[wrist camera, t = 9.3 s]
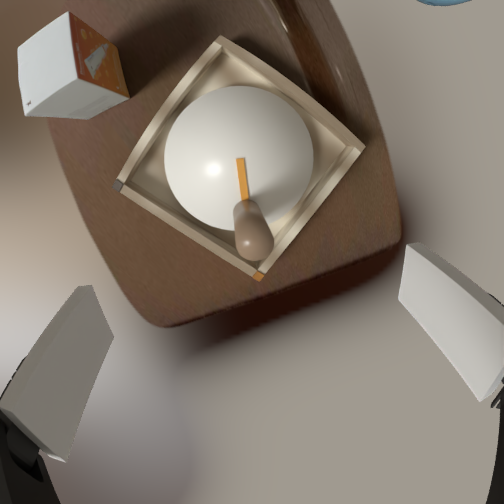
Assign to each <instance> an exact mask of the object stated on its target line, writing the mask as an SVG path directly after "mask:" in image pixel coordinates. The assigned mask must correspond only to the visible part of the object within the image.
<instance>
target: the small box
mask: <svg viewBox="0 0 504 504" xmlns="http://www.w3.org/2000/svg"><path fill="white" fill-rule="evenodd" d="M18 72H19V85H20V91H21V96H22V103H23V108H24V114H25V116H44V117H62V118H76V119H87V120H88V119H90V118H92V117H94V116H96V115H98V114H100V113H101V112H103V111H105V110H107V109H109V108H111V107H113V106H115V105H117V104H119V103H121V102H124V101H126V100H128V99H130V96H129V93H128V90H127V86H126V83H125V79H124V75H123V71H122V67H121V63H120V58H119V54H118V49H117V47H116V46H115V45H113V44H112V43H111V42H109V41H108V40H107V39H106V38H104V37H103V36H102V35H100V34H99V33H98V32H96V31H95V30H94V29H92V28H91V27H90V26H88V25H87V24H86V23H84V22H83V21H82V20H80V19H79V18H78V17H76V16H75V15H73V14H72V13H71V12H69V11H68V12H66V13H65V14H63V15H61V16H60V17H58V18H57V19H55V20H54V21H53V22H51V23H50V24H48V25H47V26H45V27H44V28H43V29H41V30H40V31H39V32H37V33H36V34H35V35H33V36H32V37H31V38H29V39H28V40H27V41H26V42H24V44H22V45H21V46H19V47H18Z"/></svg>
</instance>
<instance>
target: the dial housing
mask: <svg viewBox="0 0 504 504" xmlns="http://www.w3.org/2000/svg"><path fill="white" fill-rule="evenodd" d="M230 86H250V87H255V88H260V89H263V90H266V91H268V92H271V93H273V94H275V95H277V96H279V97H280V98H281V99H283V100H284V101H286V102H287V103H288V104H289V105H290V106H291V107H293V108H294V109H295V111H296V112H297V113H298V114H299V115H300V117H301V118H302V120H303V122H304V123H305V125H306V127H307V129H308V132H309V134H310V138H311V141H312V146H313V170H312V174H311V178H310V181H309V183H308V186H307V188H306V190H305V192H304V194H303V196H302V197H301V198H300V200H299V201H298V203H297V204H296V205H295V206H294V207H293V208H292V209H291V210H290V211H289V212H288V213H286V214H285V215H284V216H283V217H281V218H280V219H278V220H276V221H275V222H273V223H271V224H268V226H269V228H270V230H271V232H272V235H273V237H274V247H273V250H272V252H271V253H270V254H269V255H268V256H267V257H266V258H264V259H262V260H258V261H250V260H247V259H245V258H243V257H242V256H241V255H240V254H239V253H238V251H237V248H236V241H235V231H232V230H225V229H220V228H216V227H213V226H210V225H208V224H206V223H203V222H202V221H200V220H198V219H197V218H195V217H194V216H193V215H191V214H190V213H189V212H188V211H187V210H186V209H185V208H184V207H183V206H182V205H181V204H180V203H179V201H178V200H177V199H176V197H175V196H174V194H173V192H172V190H171V188H170V186H169V183H168V180H167V176H166V172H165V164H164V153H165V146H166V141H167V138H168V135H169V132H170V130H171V128H172V126H173V124H174V122H175V121H176V119H177V118H178V116H179V115H180V114H181V113H182V112H183V110H184V109H185V108H186V107H187V106H188V105H190V104H191V103H192V102H193V101H195V100H196V99H198V98H199V97H201V96H202V95H204V94H206V93H208V92H211V91H214V90H217V89H220V88H224V87H230ZM365 147H366V146H365V145H364V144H363V143H362V142H361V141H360V140H359V139H358V138H357V137H356V136H355V135H354V134H353V133H351V132H350V131H349V130H348V129H347V128H346V127H345V126H344V125H343V124H342V123H341V122H340V121H339V120H337V119H336V118H335V117H334V116H333V115H332V114H331V113H330V112H328V111H327V110H326V109H325V108H324V107H323V106H321V105H320V104H319V103H318V102H317V101H315V100H314V99H313V98H312V97H310V96H309V95H308V94H307V93H305V92H304V91H303V90H302V89H300V88H299V87H298V86H297V85H295V84H294V83H293V82H291V81H290V80H289V79H287V78H286V77H284V76H283V75H282V74H280V73H279V72H278V71H276V70H275V69H273V68H272V67H270V66H269V65H268V64H266V63H265V62H263V61H262V60H260V59H259V58H257V57H256V56H254V55H252V54H251V53H249V52H248V51H246V50H245V49H243V48H241V47H240V46H238V45H236V44H235V43H233V42H231V41H230V40H228V39H226V38H224V37H223V36H221V35H220V36H219V37H218V38H217V39H216V40H215V41H214V42H213V43H212V44H211V46H210V47H209V48H208V49H207V50H206V51H205V52H204V53H203V55H202V56H201V57H200V58H199V59H198V60H197V62H196V63H195V64H194V65H193V66H192V67H191V69H190V70H189V71H188V72H187V74H186V75H185V76H184V77H183V79H182V80H181V81H180V82H179V84H178V85H177V86H176V88H175V89H174V90H173V92H172V93H171V94H170V96H169V97H168V98H167V100H166V101H165V103H164V104H163V105H162V107H161V108H160V110H159V111H158V112H157V114H156V115H155V117H154V118H153V120H152V121H151V123H150V124H149V126H148V127H147V129H146V130H145V132H144V134H143V135H142V137H141V138H140V140H139V141H138V143H137V145H136V146H135V148H134V150H133V151H132V153H131V155H130V156H129V158H128V160H127V162H126V163H125V165H124V167H123V169H122V170H121V172H120V174H119V176H118V178H117V179H116V180H115V182H114V184H113V186H112V188H113V189H115V190H116V191H118V192H121V193H122V194H124V195H125V196H127V197H128V198H130V199H131V200H133V201H134V202H136V203H137V204H139V205H140V206H142V207H143V208H145V209H146V210H148V211H149V212H151V213H153V214H154V215H156V216H157V217H159V218H160V219H162V220H163V221H165V222H166V223H168V224H169V225H171V226H173V227H174V228H176V229H177V230H179V231H180V232H182V233H183V234H185V235H187V236H188V237H190V238H191V239H193V240H194V241H196V242H198V243H199V244H201V245H202V246H204V247H205V248H207V249H209V250H210V251H212V252H213V253H215V254H216V255H218V256H220V257H221V258H223V259H224V260H226V261H228V262H229V263H231V264H232V265H234V266H236V267H237V268H239V269H240V270H242V271H244V272H245V273H247V274H249V275H250V276H252V278H254V279H255V280H257V281H260V280H261V279H262V278H263V277H264V274H265V273H266V272H267V271H268V269H269V268H270V267H271V266H272V265H273V263H274V262H275V261H276V260H277V258H278V257H279V256H280V255H281V254H282V252H283V251H284V250H285V249H286V247H287V246H288V245H289V244H290V242H291V241H292V240H293V239H294V238H295V236H296V235H297V234H298V233H299V231H300V230H301V229H302V228H303V226H304V225H305V224H306V223H307V221H308V220H309V219H310V218H311V216H312V215H313V214H314V213H315V211H316V210H317V209H318V207H319V206H320V205H321V204H322V202H323V201H324V200H325V199H326V197H327V196H328V195H329V194H330V192H331V191H332V190H333V188H334V187H335V186H336V185H337V183H338V182H339V181H340V179H341V178H342V177H343V176H344V174H345V173H346V172H347V170H348V169H349V168H350V166H351V165H352V164H353V163H354V161H355V160H356V159H357V157H358V156H359V155H360V153H361V152H362V151H363V150H364V148H365Z"/></svg>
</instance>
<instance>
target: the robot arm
mask: <svg viewBox="0 0 504 504" xmlns="http://www.w3.org/2000/svg"><path fill="white" fill-rule="evenodd" d="M418 1H419V2H422V3H424V4H427V5H433V6H450V5H456V4H460V3H464V2H467V1H470V0H418ZM398 300H399V301H400V302H401V303H402V304H403V305H404V306H405V308H406V309H407V310H408V311H409V312H410V313H411V315H412V316H413V317H414V318H415V319H416V320H417V322H418V323H419V324H420V325H421V326H422V327H423V329H424V330H425V331H426V332H427V333H428V334H429V336H430V337H431V338H432V340H433V341H434V342H435V343H436V345H437V346H438V347H439V348H440V349H441V351H442V352H443V353H444V354H445V356H446V357H447V358H448V360H449V361H450V362H451V364H452V365H453V366H454V368H455V369H456V370H457V371H458V373H459V374H460V375H461V377H462V378H463V380H464V381H465V382H466V384H467V385H468V386H469V388H470V389H471V390H472V392H473V393H474V395H475V396H476V398H477V399H478V401H479V402H481V401H482V400H484V399H485V398H487V397H488V396H490V395H491V394H492V393H493V392H494V391H495V389H496V388H497V386H498V385H499V383H500V382H501V381H502V382H503V384H504V305H503V304H502V305H501V302H499V301H498V300H497V299H496V298H495V297H494V296H492V295H491V294H489V293H487V292H485V291H484V290H483V289H482V288H481V287H479V286H478V285H477V284H476V283H474V282H473V281H472V280H471V279H469V278H468V277H467V276H465V275H464V274H463V273H461V272H460V271H459V270H458V269H456V268H455V267H454V266H452V265H451V264H450V263H448V262H447V261H446V260H444V259H443V258H442V257H440V256H439V255H437V254H436V253H435V252H433V251H432V250H430V249H429V248H427V247H426V246H425V245H423V244H422V243H420V242H418V243H412V244H407V245H406V252H405V260H404V266H403V274H402V280H401V285H400V290H399V295H398ZM113 338H114V336H113V334H112V332H111V329H110V327H109V325H108V323H107V320H106V318H105V316H104V314H103V311H102V309H101V307H100V304H99V302H98V299H97V297H96V295H95V292H94V289H93V287H92V285H87V286H78V287H77V288H76V290H75V291H74V292H73V293H72V295H71V296H70V297H69V298H68V300H67V301H66V302H65V304H64V305H63V306H62V307H61V309H60V310H59V311H58V312H57V314H56V315H55V317H54V318H53V319H52V320H51V322H50V323H49V325H48V326H47V328H46V329H45V330H44V332H43V333H42V334H41V336H40V337H39V339H38V340H37V342H36V343H35V344H34V346H33V348H32V349H31V350H30V352H29V354H28V355H27V356H26V357H25V358H24V359H23V360H22V362H21V363H20V365H19V366H18V368H17V369H16V370H17V372H15V373H14V374H13V376H12V380H10V381H9V383H8V384H7V386H6V388H5V390H4V391H3V393H2V395H1V397H0V504H61V503H60V501H59V499H58V497H57V494H56V492H55V490H54V487H53V485H52V482H51V480H50V477H49V474H48V471H47V469H46V466H45V463H44V460H43V458H42V457H41V456H40V455H39V454H38V452H39V449H41V450H42V451H44V452H45V453H46V454H47V455H48V456H50V457H51V458H54V459H57V460H60V461H63V462H67V460H68V457H69V453H70V450H71V447H72V444H73V441H74V437H75V434H76V431H77V428H78V425H79V423H80V420H81V417H82V414H83V411H84V409H85V406H86V403H87V400H88V398H89V395H90V393H91V390H92V388H93V385H94V383H95V380H96V378H97V375H98V373H99V370H100V368H101V365H102V363H103V361H104V359H105V356H106V354H107V352H108V349H109V347H110V345H111V343H112V340H113ZM499 399H500V402H499V404H498V405H497V407H496V408H498V409H500V425H499V436H498V446H497V454H496V461H495V466H494V471H493V476H492V481H491V486H490V490H489V494H488V498H487V501H486V504H504V387H503V388H502V389H501V391H500V392H499V393H498V395H497V396H496V398H495V399H494V400H493V402H492V404H491V408H493V407H494V406H495V404H496V403H497V402H498V401H499Z"/></svg>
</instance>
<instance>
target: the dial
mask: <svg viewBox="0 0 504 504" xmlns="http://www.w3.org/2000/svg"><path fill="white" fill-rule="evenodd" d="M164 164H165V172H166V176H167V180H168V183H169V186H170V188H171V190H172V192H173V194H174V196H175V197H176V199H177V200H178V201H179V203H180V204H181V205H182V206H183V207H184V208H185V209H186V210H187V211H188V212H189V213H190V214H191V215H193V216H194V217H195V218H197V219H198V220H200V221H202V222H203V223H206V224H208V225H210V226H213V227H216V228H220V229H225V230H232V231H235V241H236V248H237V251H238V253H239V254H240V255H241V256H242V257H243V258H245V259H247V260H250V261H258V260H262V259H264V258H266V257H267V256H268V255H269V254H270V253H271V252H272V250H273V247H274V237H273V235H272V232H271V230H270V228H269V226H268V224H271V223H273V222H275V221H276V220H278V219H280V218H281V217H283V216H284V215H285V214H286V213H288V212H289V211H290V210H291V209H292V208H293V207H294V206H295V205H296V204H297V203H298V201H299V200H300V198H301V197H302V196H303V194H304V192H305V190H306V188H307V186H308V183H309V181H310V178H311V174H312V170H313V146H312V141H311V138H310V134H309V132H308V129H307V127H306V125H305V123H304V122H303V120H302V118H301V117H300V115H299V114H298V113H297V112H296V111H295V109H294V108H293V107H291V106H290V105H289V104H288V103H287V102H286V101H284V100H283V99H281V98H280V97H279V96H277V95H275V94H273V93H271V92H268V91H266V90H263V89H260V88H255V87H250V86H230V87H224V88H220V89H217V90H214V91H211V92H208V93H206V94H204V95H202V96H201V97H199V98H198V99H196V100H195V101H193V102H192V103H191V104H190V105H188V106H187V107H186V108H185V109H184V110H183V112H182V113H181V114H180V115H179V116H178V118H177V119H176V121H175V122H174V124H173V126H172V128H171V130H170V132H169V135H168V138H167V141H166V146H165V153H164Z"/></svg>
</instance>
